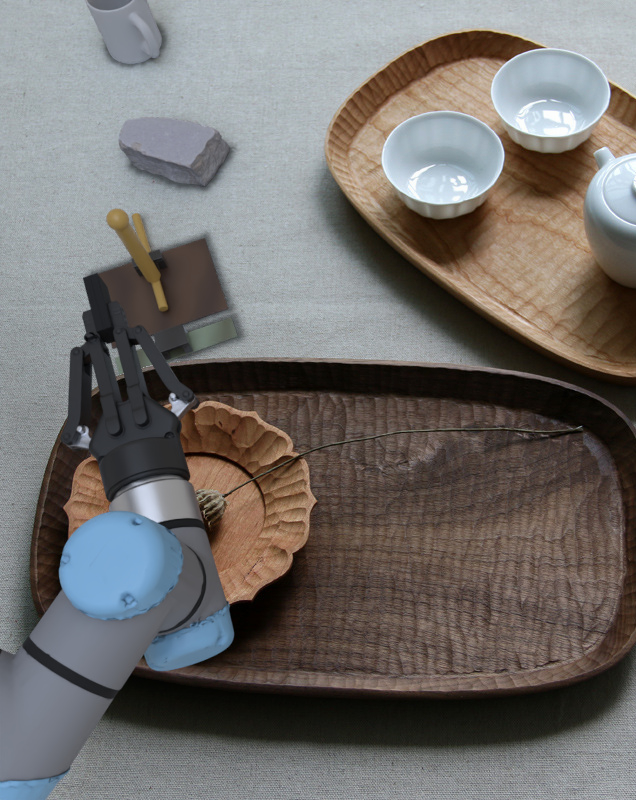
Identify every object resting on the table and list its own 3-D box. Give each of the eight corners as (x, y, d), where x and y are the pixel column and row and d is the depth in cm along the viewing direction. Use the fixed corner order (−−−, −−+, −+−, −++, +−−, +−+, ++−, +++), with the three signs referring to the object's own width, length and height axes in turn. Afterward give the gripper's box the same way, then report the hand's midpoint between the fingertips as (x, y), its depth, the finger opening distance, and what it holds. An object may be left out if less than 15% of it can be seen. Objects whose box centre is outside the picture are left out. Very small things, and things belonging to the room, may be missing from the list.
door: (123, 381, 106) (112, 369, 103) (97, 280, 113) (85, 265, 109) (240, 341, 108) (232, 327, 104) (207, 243, 114) (199, 227, 110)
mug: (100, 49, 129) (71, -9, 119) (143, 20, 131) (118, -39, 121) (145, 90, 125) (119, 33, 115) (188, 60, 127) (166, 1, 117)
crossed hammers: (155, 314, 108) (112, 250, 94) (128, 221, 114) (83, 147, 100) (174, 307, 108) (134, 242, 94) (146, 215, 114) (104, 140, 100)
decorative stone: (231, 192, 118) (232, 136, 121) (219, 163, 111) (220, 104, 114) (131, 201, 118) (135, 144, 121) (113, 172, 112) (118, 113, 115)
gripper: (96, 528, 76) (48, 321, 85) (229, 479, 77) (168, 280, 86) (62, 507, 69) (14, 284, 78) (208, 453, 70) (144, 240, 79)
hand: (95, 282), depth 82 cm, fingers closed
